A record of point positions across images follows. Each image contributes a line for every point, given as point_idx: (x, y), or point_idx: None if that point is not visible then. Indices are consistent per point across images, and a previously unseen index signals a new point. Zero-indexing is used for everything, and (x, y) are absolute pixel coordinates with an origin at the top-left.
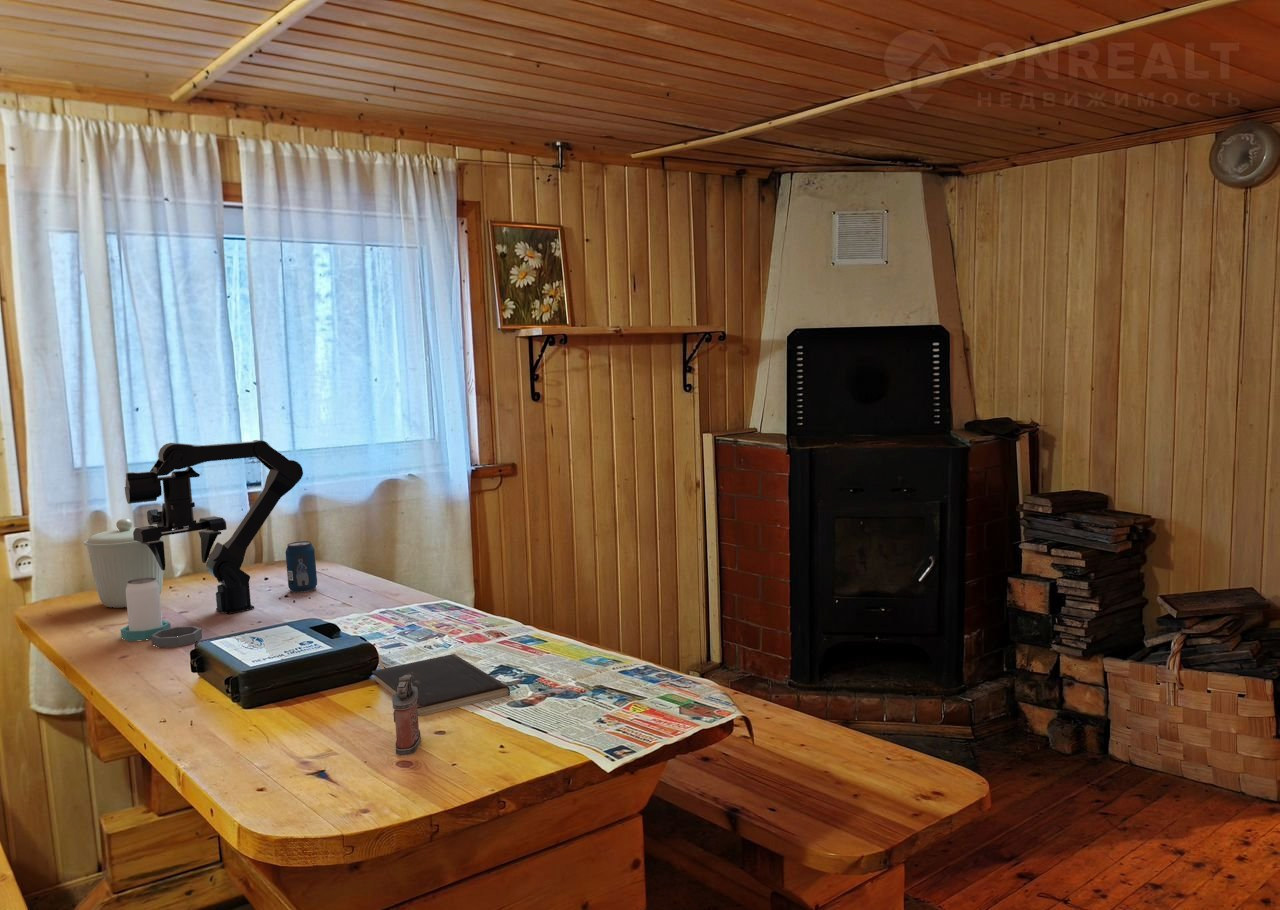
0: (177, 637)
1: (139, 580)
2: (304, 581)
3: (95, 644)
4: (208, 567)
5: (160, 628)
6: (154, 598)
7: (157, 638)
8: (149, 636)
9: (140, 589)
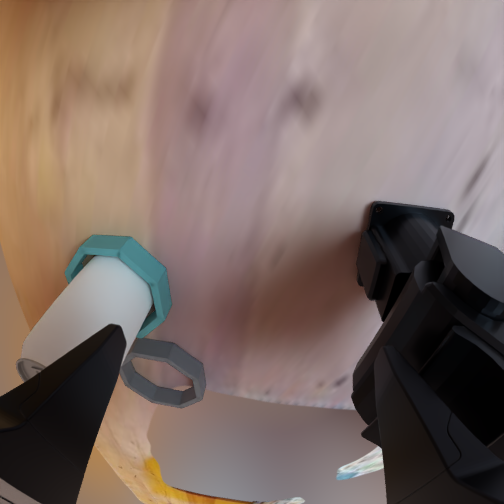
0: (153, 402)
1: None
2: None
3: (38, 253)
4: (397, 328)
5: (138, 336)
6: None
7: (124, 382)
8: None
9: None
